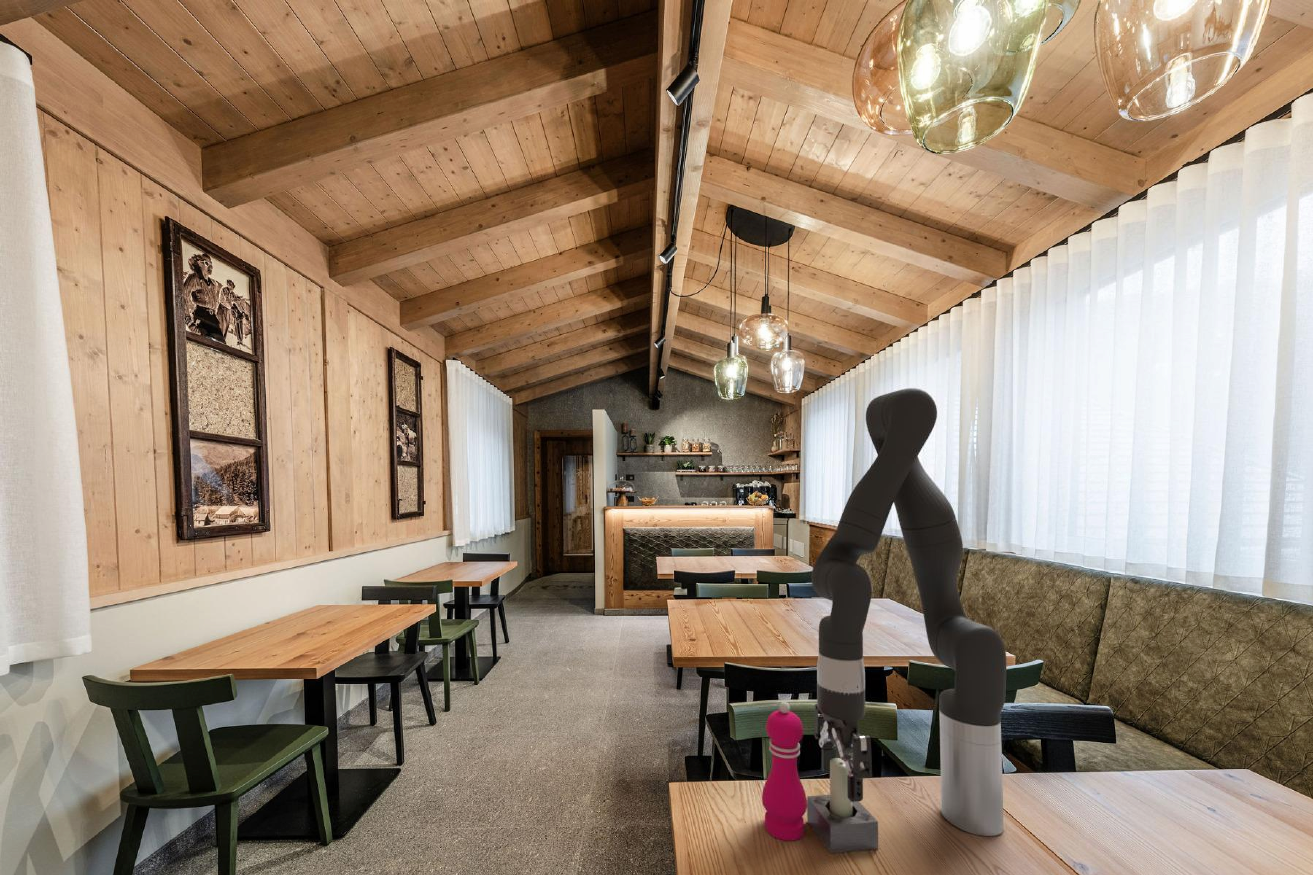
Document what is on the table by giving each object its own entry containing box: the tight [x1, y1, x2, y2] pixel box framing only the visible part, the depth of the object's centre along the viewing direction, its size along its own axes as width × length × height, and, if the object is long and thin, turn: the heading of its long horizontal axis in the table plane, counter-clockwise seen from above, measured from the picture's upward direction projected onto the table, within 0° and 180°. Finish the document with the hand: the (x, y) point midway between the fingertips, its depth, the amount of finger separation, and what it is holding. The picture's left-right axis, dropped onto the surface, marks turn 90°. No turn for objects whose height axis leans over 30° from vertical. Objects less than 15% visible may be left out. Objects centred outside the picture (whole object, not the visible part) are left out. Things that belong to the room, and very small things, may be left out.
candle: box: [829, 757, 853, 818], centre depth 88 cm, size 4×4×10 cm
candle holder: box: [806, 794, 879, 854], centre depth 88 cm, size 8×8×4 cm
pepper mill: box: [761, 701, 807, 842], centre depth 90 cm, size 7×7×20 cm
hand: (841, 785), depth 88 cm, fingers open, 8 cm apart
